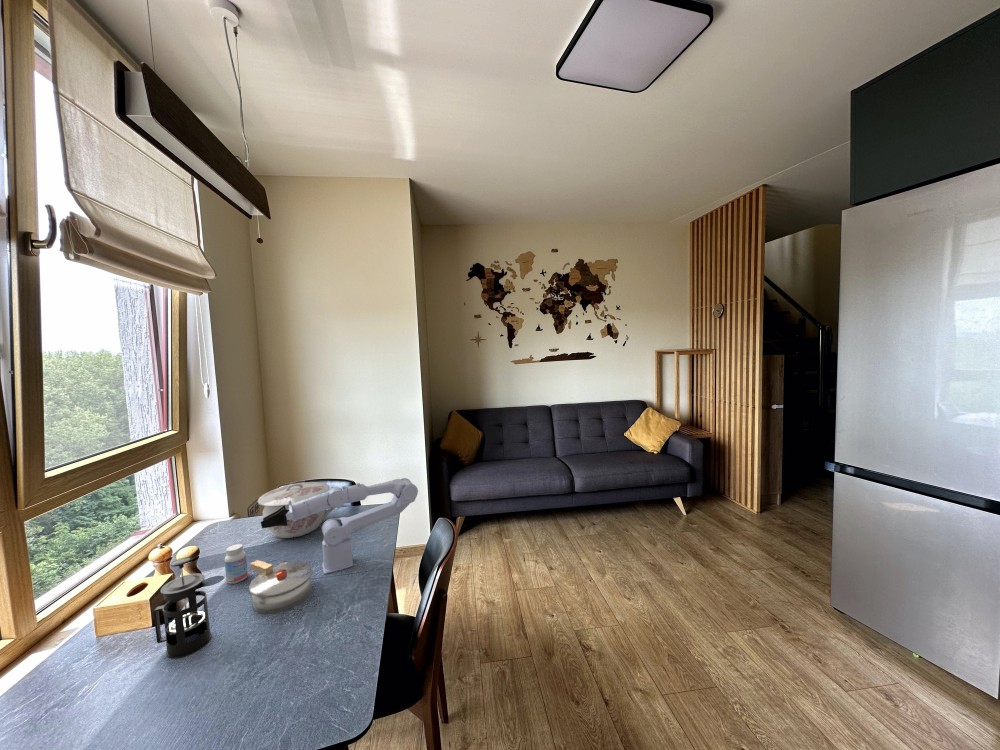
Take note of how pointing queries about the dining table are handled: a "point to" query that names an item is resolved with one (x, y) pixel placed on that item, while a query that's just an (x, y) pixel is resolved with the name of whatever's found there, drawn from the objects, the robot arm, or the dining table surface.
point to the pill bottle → (235, 564)
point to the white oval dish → (282, 599)
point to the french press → (183, 614)
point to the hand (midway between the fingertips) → (262, 523)
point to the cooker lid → (278, 578)
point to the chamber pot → (294, 494)
